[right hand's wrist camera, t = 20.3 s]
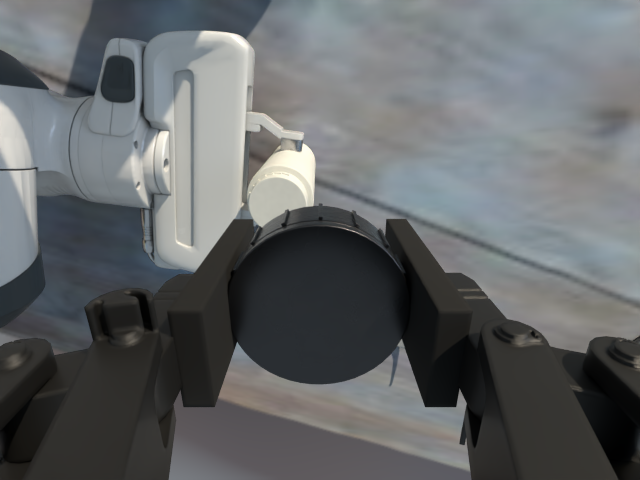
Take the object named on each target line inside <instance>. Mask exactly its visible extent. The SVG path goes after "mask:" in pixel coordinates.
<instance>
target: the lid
mask: <svg viewBox="0 0 640 480" xmlns="http://www.w3.org/2000/svg"><path fill="white" fill-rule="evenodd" d="M232 272H233V273H234V274H233V276H232V279H231V281H230V284H229V289H228V304H229V314H230V323H231V330H232V332H233V335H234V337H235V338H236V340H237V342H238V344H239V345H240V346H241V348H242V349H243V350H244V352H245V353H246V354H247V355H248V356H249V357H250V358H251V359H252V360H253V361H254V362H256V363H257V364H258V365H259V366H261V367H262V368H264V369H265V370H267V371H269V372H270V373H273V374H275V375H277V376H279V377H282V378H284V379H287V380H290V381H295V382H299V383H306V384H332V383H338V382H343V381H347V380H350V379H353V378H356V377H358V376H360V375H363V374H365V373H367V372H368V371H370V370H372V369H374V368H375V367H376V366H378V365H379V364H381V363H382V362H383V361H384V360H385V359H386V358H387V357H388V356H389V355H390V354H391V353H392V352H393V351H394V349H395V348H396V347H397V345H398V344H399V342H400V341H401V339H402V337H403V335H404V333H405V330H406V328H407V324H408V321H409V316H410V308H411V304H410V293H409V287H408V284H407V281H406V278H405V276H406V272H405V270H404V268H403V266H402V264H401V262H400V260H399V258H398V256H397V254H396V255H394V253H393V251H392V249H391V247H390V245H389V243H388V242H387V240H386V238H385V235H384V233H383V231H382V230H381V229H379V230H378V229H377V228H376V227H375V226H373V225H372V224H371V223H369V222H368V221H367V220H365V219H364V218H362V217H360V216H359V215H357V214H356V211H353V210H352V212H349V211H347V210H343V209H340V208H335V207H328V206H322V204H319V206H310V207H302V208H298V209H294V210H291V211H289V209H287V210H285V212H284V213H283V214H281V215H279V216H277V217H275V218H274V219H272V220H271V221H269V222H268V223H267V224H265V225H264V226H263V227H261V226H259V227H258V228H257V231H256V233H255V235H254V237H253V238H252V239H251V241H250V243H249V244H248V246H247V248H246V250H245V252H243V251H242V252H241V254H240V256H239V258H238V260H237V262H236V264H235V266H234V268H233V270H232Z"/></svg>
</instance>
